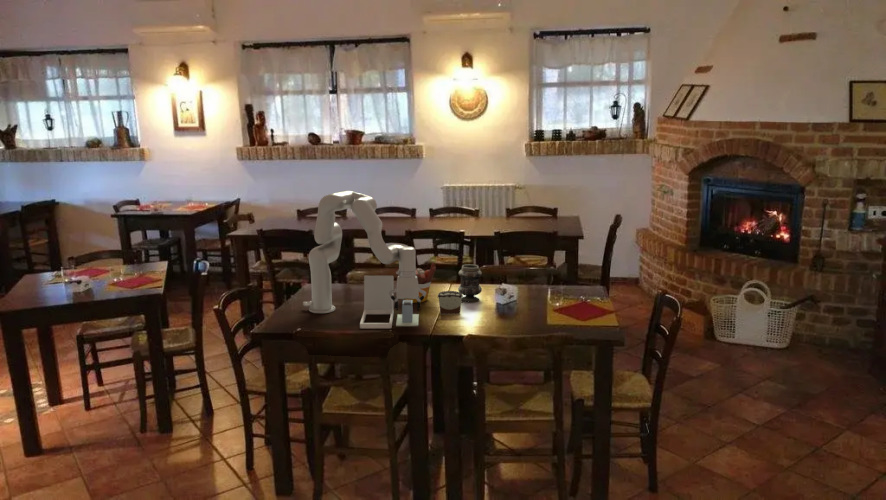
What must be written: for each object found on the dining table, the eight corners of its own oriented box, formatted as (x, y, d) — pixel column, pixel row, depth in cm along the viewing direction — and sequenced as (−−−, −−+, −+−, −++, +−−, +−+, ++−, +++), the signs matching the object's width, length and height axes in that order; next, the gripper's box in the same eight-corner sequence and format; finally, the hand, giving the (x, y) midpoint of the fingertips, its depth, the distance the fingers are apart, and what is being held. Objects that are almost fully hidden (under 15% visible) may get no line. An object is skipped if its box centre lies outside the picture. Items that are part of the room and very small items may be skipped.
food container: (462, 310, 332) (462, 290, 330) (462, 314, 326) (463, 294, 324) (436, 310, 332) (436, 290, 330) (437, 314, 326) (437, 294, 324)
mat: (396, 326, 308) (396, 324, 308) (397, 315, 324) (397, 314, 324) (418, 326, 308) (418, 324, 308) (418, 315, 324) (418, 314, 324)
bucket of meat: (395, 303, 342) (394, 265, 338) (400, 295, 358) (400, 258, 354) (434, 305, 340) (434, 266, 336) (438, 296, 356) (438, 259, 352)
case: (360, 328, 305) (359, 289, 301) (365, 311, 330) (364, 275, 326) (391, 328, 305) (390, 289, 301) (394, 311, 330) (393, 275, 327)
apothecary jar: (482, 297, 355) (482, 263, 352) (481, 303, 344) (481, 269, 340) (458, 296, 357) (459, 262, 353) (457, 302, 345) (457, 268, 341)
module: (402, 322, 311) (402, 304, 310) (403, 316, 320) (403, 299, 319) (412, 322, 312) (412, 304, 310) (412, 316, 320) (412, 299, 319)
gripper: (388, 275, 307) (388, 312, 311) (426, 275, 308) (426, 312, 311) (388, 271, 315) (389, 307, 318) (426, 271, 315) (426, 307, 319)
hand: (407, 309), depth 315 cm, fingers open, 9 cm apart
